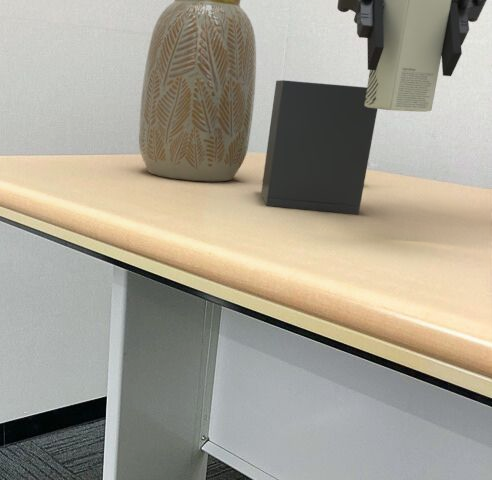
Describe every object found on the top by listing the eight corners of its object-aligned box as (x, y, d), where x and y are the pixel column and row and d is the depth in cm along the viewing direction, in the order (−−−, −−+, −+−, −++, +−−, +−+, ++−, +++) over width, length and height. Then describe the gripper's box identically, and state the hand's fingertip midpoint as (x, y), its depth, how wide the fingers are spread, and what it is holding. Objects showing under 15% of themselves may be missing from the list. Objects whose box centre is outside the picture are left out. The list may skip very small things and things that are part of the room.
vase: (262, 179, 121) (287, -4, 112) (211, 187, 107) (234, -21, 98) (171, 165, 129) (187, -6, 120) (114, 171, 116) (126, -22, 106)
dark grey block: (358, 214, 94) (381, 88, 89) (266, 205, 95) (283, 80, 90) (344, 200, 105) (363, 88, 100) (261, 193, 106) (276, 80, 101)
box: (403, 110, 77) (429, -29, 73) (432, 113, 73) (461, -34, 69) (360, 107, 75) (383, -36, 71) (387, 110, 71) (414, -41, 67)
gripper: (485, -61, 82) (503, 100, 72) (307, -73, 83) (301, 84, 73) (515, -130, 75) (539, 37, 65) (321, -142, 76) (316, 20, 66)
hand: (413, 61), depth 69 cm, fingers closed on box, 6 cm apart
